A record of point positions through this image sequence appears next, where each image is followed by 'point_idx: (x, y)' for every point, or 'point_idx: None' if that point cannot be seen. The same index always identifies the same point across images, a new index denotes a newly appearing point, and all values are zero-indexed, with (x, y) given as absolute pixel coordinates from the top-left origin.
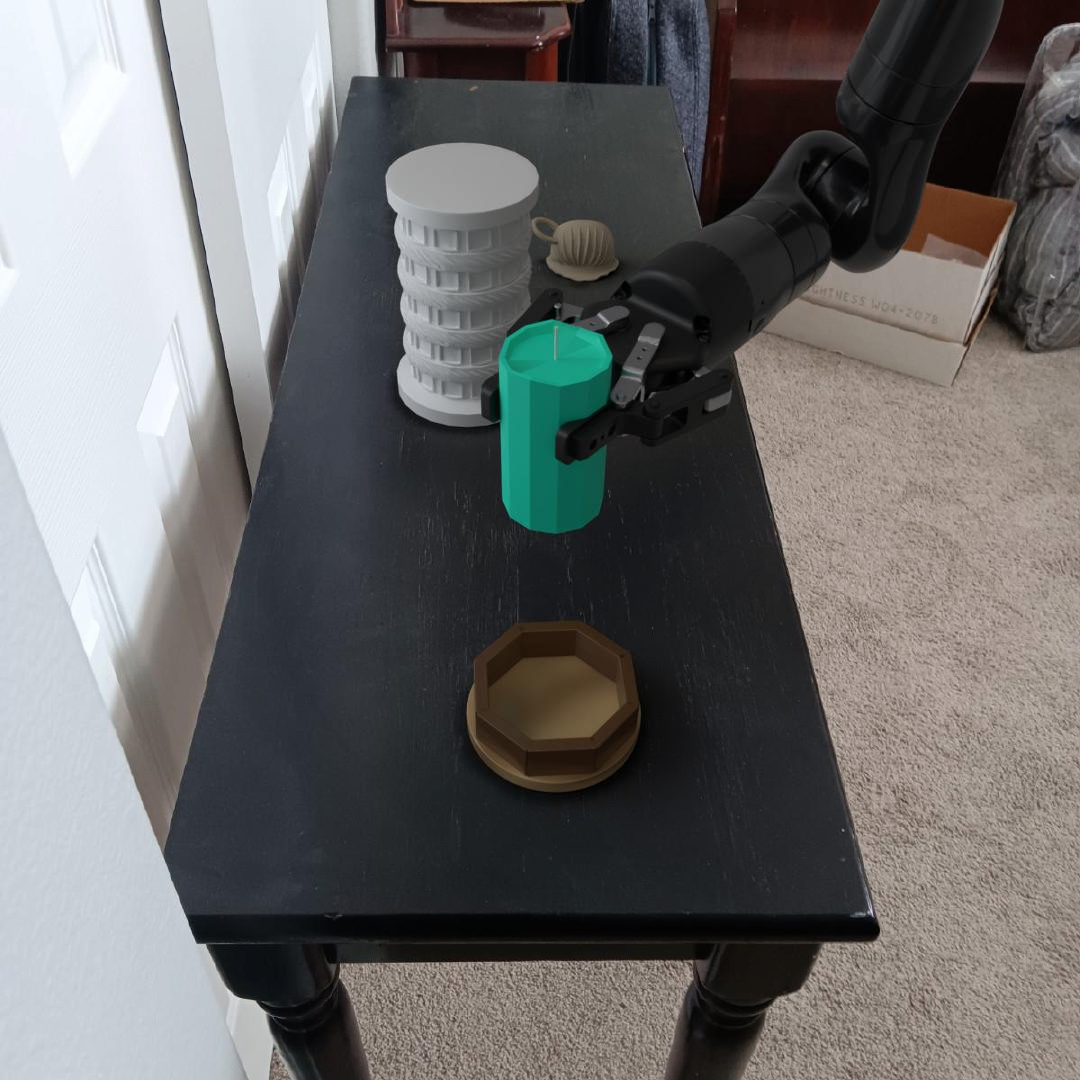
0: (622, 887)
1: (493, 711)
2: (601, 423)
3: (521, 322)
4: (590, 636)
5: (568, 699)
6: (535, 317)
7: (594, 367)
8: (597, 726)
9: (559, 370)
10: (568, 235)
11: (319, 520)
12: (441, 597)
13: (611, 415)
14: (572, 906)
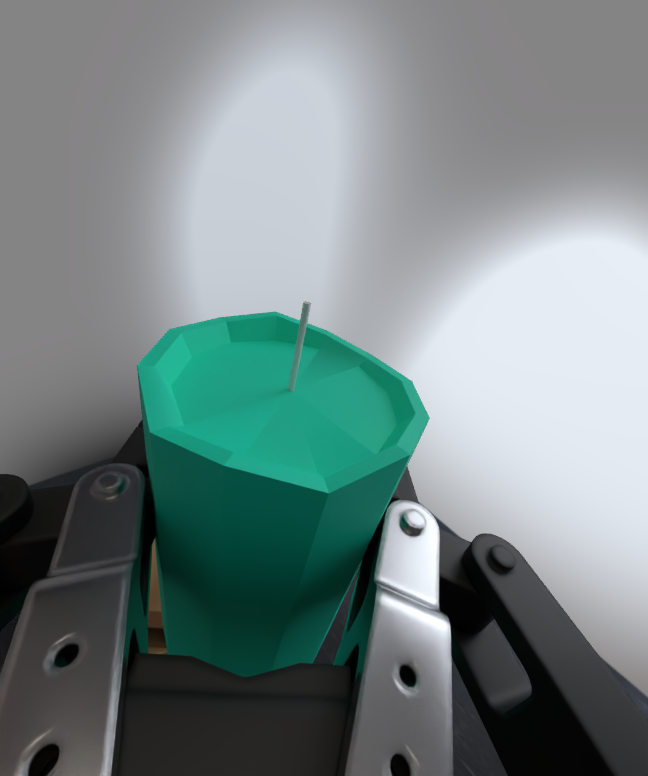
0: (66, 483)
1: None
2: (142, 436)
3: (554, 617)
4: (148, 614)
5: (156, 578)
6: (575, 682)
7: (187, 394)
8: None
9: (259, 369)
10: None
11: (498, 627)
12: (340, 624)
13: (126, 462)
14: (102, 461)
